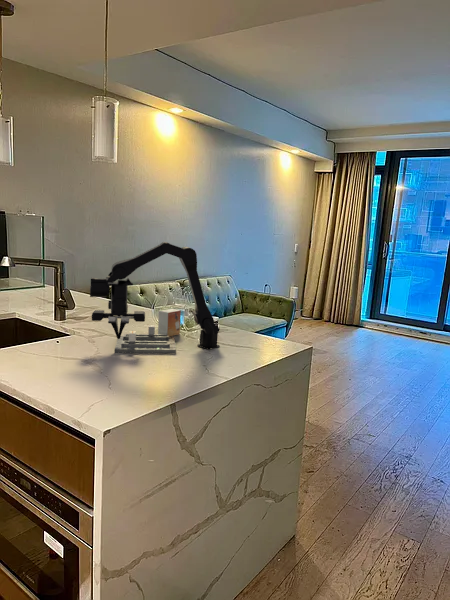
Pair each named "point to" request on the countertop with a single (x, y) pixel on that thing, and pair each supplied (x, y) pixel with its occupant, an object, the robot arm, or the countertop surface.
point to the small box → (169, 322)
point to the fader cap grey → (151, 330)
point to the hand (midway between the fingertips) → (118, 338)
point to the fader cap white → (132, 336)
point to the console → (146, 344)
